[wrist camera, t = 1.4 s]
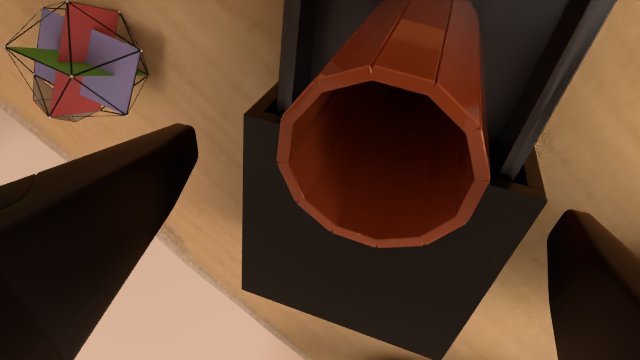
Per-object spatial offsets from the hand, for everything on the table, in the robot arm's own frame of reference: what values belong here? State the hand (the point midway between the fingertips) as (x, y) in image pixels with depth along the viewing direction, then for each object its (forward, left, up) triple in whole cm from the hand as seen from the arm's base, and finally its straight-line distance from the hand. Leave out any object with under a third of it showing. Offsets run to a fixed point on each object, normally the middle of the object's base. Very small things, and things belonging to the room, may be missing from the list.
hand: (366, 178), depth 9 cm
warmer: (-6, +10, -14) cm, 18 cm away
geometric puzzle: (+13, +14, -14) cm, 24 cm away
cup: (0, 0, -12) cm, 12 cm away
